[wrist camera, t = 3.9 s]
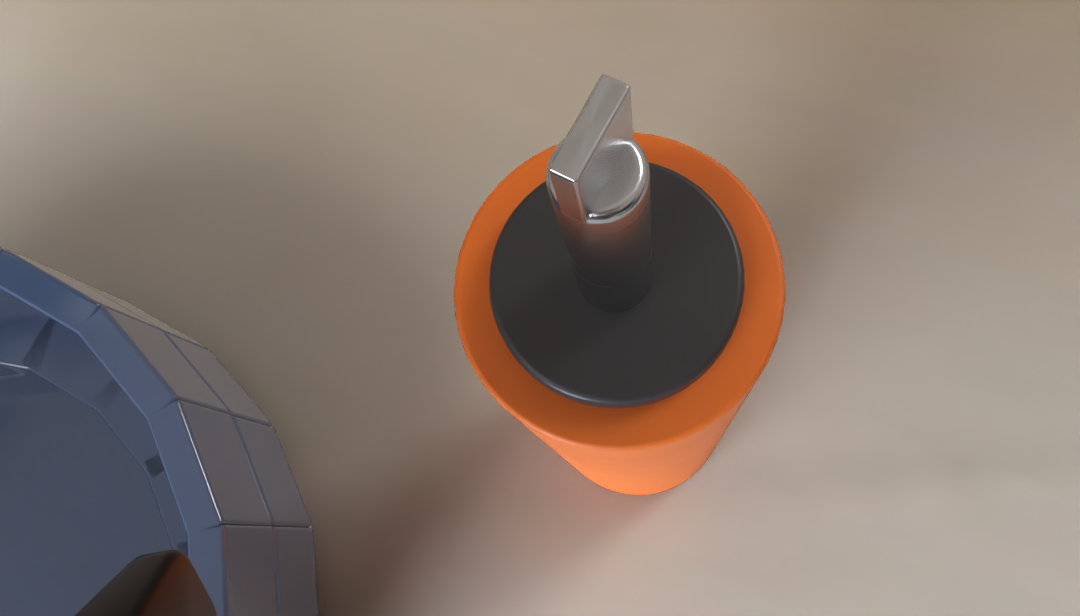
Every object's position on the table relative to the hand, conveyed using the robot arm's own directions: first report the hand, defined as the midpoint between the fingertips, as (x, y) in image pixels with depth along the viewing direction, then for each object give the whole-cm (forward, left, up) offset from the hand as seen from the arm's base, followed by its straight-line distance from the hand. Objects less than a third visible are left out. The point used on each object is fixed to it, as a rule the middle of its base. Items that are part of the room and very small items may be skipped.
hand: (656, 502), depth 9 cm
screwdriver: (+2, +1, -9) cm, 10 cm away
